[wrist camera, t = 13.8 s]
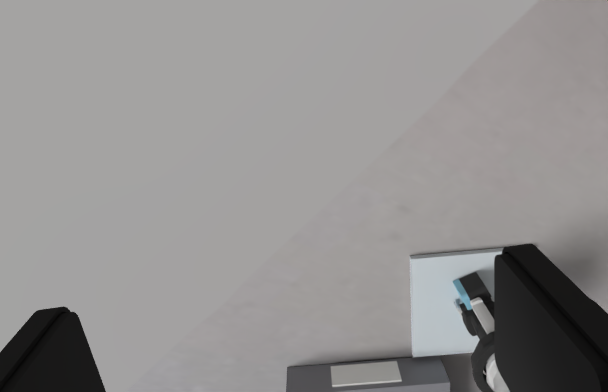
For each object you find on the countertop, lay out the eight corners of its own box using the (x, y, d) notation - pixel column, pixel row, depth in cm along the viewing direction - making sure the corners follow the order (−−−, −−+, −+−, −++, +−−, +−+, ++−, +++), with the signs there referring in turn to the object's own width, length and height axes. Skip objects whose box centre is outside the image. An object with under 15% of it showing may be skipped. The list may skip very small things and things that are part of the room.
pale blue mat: (529, 245, 40) (533, 248, 40) (522, 344, 44) (525, 348, 43) (409, 255, 41) (411, 259, 40) (411, 352, 44) (413, 357, 44)
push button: (515, 320, 42) (575, 408, 33) (457, 343, 43) (500, 435, 34) (490, 260, 40) (547, 335, 31) (430, 285, 41) (468, 365, 32)
